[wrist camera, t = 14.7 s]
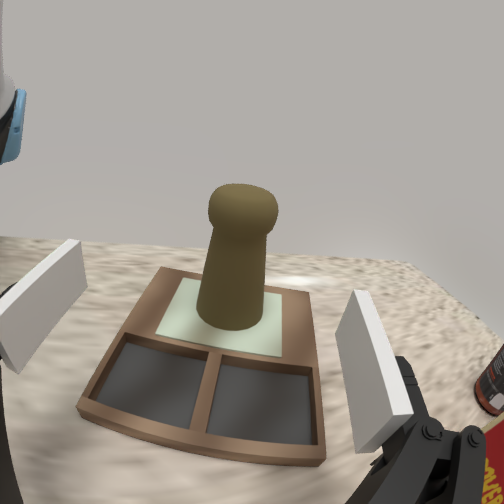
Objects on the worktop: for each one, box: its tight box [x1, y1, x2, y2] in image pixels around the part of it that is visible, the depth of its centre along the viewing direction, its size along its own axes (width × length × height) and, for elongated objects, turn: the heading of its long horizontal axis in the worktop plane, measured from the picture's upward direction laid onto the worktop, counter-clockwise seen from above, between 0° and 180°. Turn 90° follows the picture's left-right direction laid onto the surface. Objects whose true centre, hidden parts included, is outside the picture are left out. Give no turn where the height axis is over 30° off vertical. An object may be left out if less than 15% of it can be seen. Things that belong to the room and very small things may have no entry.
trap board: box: [76, 267, 326, 466], centre depth 22 cm, size 16×18×2 cm
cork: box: [196, 184, 278, 331], centre depth 23 cm, size 6×6×11 cm
